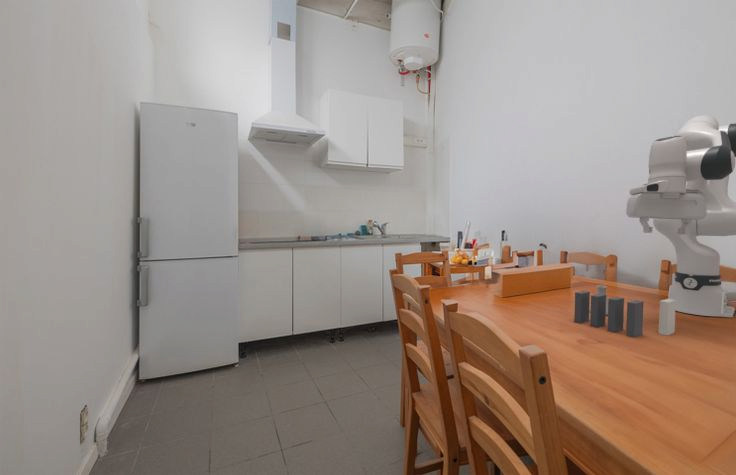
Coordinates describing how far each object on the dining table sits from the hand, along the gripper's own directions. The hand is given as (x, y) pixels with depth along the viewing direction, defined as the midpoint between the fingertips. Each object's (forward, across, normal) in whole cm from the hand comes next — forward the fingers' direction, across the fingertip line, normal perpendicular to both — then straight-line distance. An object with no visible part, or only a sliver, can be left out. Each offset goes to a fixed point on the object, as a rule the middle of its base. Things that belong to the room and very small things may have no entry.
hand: (664, 233), depth 101 cm
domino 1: (+30, +19, -8) cm, 37 cm away
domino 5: (+30, 0, +2) cm, 30 cm away
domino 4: (+31, +10, +4) cm, 33 cm away
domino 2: (+31, +16, -4) cm, 35 cm away
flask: (+29, +7, -19) cm, 36 cm away
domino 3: (+31, +13, 0) cm, 34 cm away
